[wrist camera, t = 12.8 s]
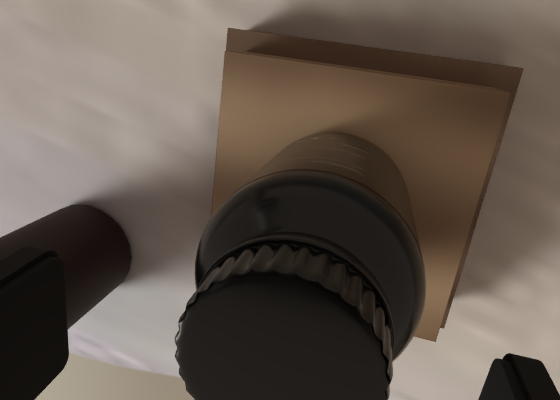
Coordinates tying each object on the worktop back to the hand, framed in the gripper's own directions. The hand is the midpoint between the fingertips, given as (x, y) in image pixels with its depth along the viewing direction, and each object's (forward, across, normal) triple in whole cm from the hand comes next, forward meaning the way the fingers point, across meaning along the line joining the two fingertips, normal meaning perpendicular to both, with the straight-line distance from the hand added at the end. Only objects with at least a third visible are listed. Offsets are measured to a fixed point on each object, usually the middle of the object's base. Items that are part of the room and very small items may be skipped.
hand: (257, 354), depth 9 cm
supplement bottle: (+12, -1, +1) cm, 12 cm away
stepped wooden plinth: (+18, -1, +1) cm, 18 cm away
